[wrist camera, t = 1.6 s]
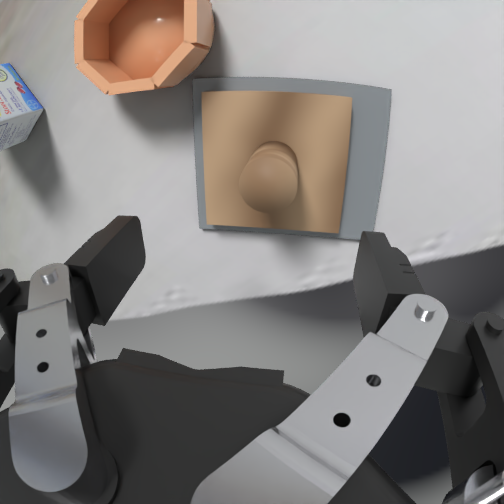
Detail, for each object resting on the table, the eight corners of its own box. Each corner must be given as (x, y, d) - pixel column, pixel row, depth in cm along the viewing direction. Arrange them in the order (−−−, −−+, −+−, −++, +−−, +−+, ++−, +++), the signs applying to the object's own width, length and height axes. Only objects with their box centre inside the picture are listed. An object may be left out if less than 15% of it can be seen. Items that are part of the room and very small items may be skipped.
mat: (389, 89, 19) (391, 89, 19) (370, 237, 25) (371, 240, 25) (194, 78, 21) (192, 78, 20) (201, 225, 27) (199, 228, 26)
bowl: (215, -25, 16) (198, -44, 13) (215, 84, 21) (197, 85, 17) (108, -4, 17) (76, -13, 14) (109, 94, 22) (76, 101, 18)
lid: (349, 97, 20) (368, 103, 14) (337, 226, 25) (346, 270, 19) (206, 91, 21) (175, 96, 15) (210, 218, 26) (187, 258, 20)
